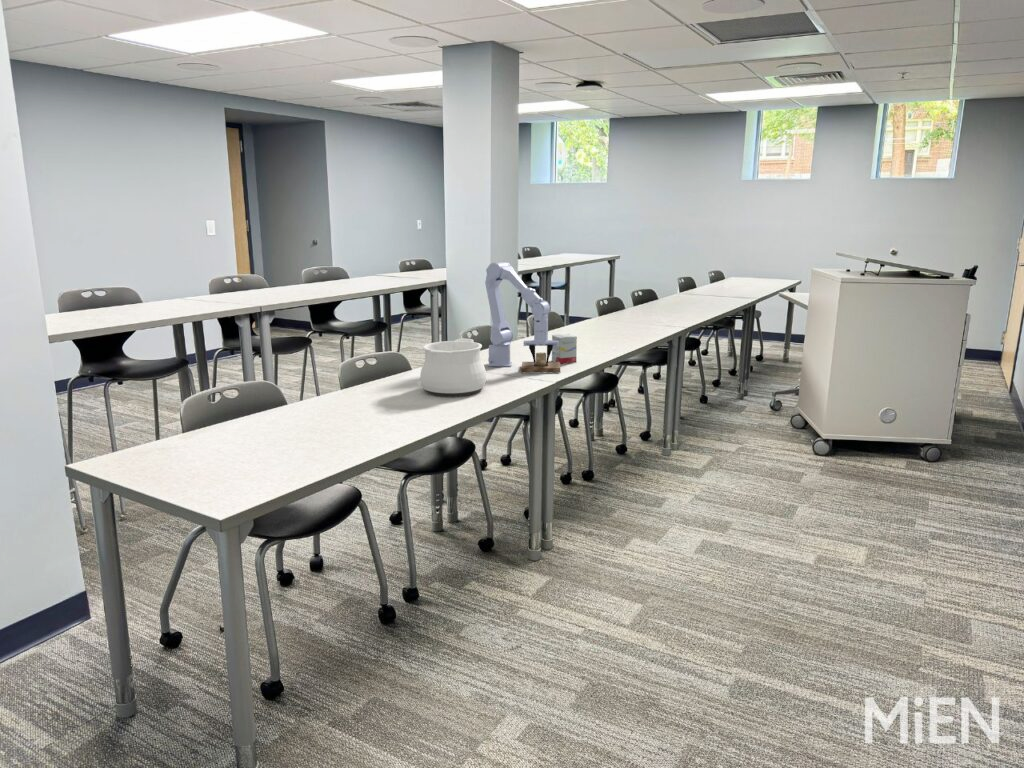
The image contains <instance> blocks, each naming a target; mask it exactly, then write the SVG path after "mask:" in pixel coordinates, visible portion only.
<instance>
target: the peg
mask: <svg viewBox="0 0 1024 768" xmlns="http://www.w3.org/2000/svg"><path fill="white" fill-rule="evenodd" d="M535 359H536V366H546V360H547V352H542V351H541V352H535Z"/></svg>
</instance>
